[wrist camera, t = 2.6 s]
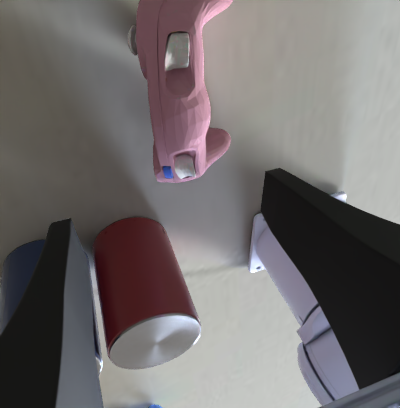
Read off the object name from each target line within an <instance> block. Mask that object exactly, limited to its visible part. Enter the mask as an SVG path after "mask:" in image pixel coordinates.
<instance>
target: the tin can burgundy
mask: <svg viewBox="0 0 400 408" xmlns="http://www.w3.org/2000/svg"><path fill="white" fill-rule="evenodd" d="M92 253H93V260H94V267H95V274H96V280H97V287H98V294H99V300H100V307H101V314H102V321H103V327H104V334H105V341H106V347H107V354H108V357H109V358H110V360H111V361H112V363H114V364H115V365H116V366H118V367H121V368H125V369H143V368H149V367H153V366H157V365H160V364H163V363H165V362H168V361H170V360H172V359H174V358H176V357H178V356H179V355H181V354H183V353H184V352H185V351H187V350H188V349H189V348H190V347H191V346H192V345H193V344H194V343H195V342H196V341H197V339H198V337H199V335H200V332H201V322H200V320H199V317H198V314H197V312H196V309H195V306H194V304H193V301H192V299H191V296H190V293H189V291H188V288H187V286H186V283H185V280H184V278H183V275H182V272H181V270H180V267H179V265H178V262H177V259H176V257H175V254H174V251H173V249H172V246H171V244H170V241H169V238H168V236H167V233H166V231H165V229H164V228H163V226H162V225H161V224H159V223H158V222H156V221H154V220H151V219H148V218H142V217H134V218H127V219H123V220H120V221H117V222H115V223H113V224H111V225H109V226H108V227H106V228H105V229H104V230H102V231H101V232H100V233H99V235H98V236H97V237H96V239H95V241H94V243H93V247H92Z"/></svg>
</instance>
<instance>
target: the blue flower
mask: <svg viewBox="0 0 400 408" xmlns="http://www.w3.org/2000/svg"><path fill="white" fill-rule="evenodd" d="M148 408H162V407H161V406H159V405H150V406H149V407H148Z"/></svg>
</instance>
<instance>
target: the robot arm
mask: <svg viewBox="0 0 400 408" xmlns="http://www.w3.org/2000/svg"><path fill="white" fill-rule="evenodd" d="M346 197H347V194H346V193H345V192H338V193H334V194H331V195H329V194H327V193H325V192H323V191H321V190H319V189H318V188H316V187H314V186H312V185H310V184H308V183H307V182H305V181H303V180H301V179H299V178H298V177H296V176H294V175H292V174H290V173H289V172H287V171H285V170H283V169H281V168H278V169H274V170H269V171H265V179H264V187H263V195H262V203H261V213H259V214H257V215H256V216H255V217H254V220H253V229H252V237H251V246H250V255H249V263H248V270H249V272H256V271H259V270H262V269H266V270H267V272H268V274H269V275H270V277H271V279H272V280H273V282H274V283H275V285H276V287H277V288H278V290H279V292H280V293H281V295H282V297H283V298H284V300H285V301H286V303H287V305H288V306H289V308H290V310H291V311H292V313H293V314H294V316H295V318H296V319H297V321H298V323H299V324H300V326H301V328H299V329H298V330H297V333H298V335H299V336H300V338H301V340H302V341H303V342H302V343H300V344H299V345H298V364H299V367H300V370H301V372H302V375H303V377H304V379H305V381H306V383H307V384H308V386H309V388H310V389H311V391H312V393H313V394H314V396H315V397H316V398H317V400H318V401H319V403H320V404H321V405H322V406H321V407H319V408H400V224H396V223H393V222H391V221H388V220H385V219H382V218H380V217H377V216H375V215H372V214H370V213H367V212H365V211H362V210H360V209H358V208H355V207H353V206H351V205H349V204H347V203H346V202H345V200H346ZM0 408H104V407H103V401H102V395H101V389H100V383H99V376H98V370H97V364H96V357H95V348H94V333H93V313H92V295H91V282H90V276H89V270H88V265H87V259H86V256H85V253H84V251H83V248H82V245H81V243H80V240H79V238H78V235H77V233H76V230H75V227H74V225H73V222H72V220H71V218H69V219H65V220H61V221H57V222H53V223H51V225H50V226H49V230H48V233H47V236H46V240H45V243H44V246H43V248H42V251H41V254H40V257H39V259H38V262H37V264H36V267H35V269H34V271H33V274H32V276H31V278H30V281H29V283H28V285H27V287H26V289H25V291H24V293H23V295H22V297H21V299H20V301H19V303H18V305H17V307H16V309H15V311H14V313H13V315H12V316H11V318H10V320H9V322H8V323H7V325H6V327H5V328H4V330H3V332H2V333H1V335H0Z"/></svg>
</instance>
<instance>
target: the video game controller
mask: <svg viewBox="0 0 400 408" xmlns="http://www.w3.org/2000/svg"><path fill="white" fill-rule="evenodd" d="M232 1H233V0H140V2H139V5H138V9H137V20H136V27H135V26H134V25H133V26H131V28H130V30H129V34H128V45H129V47H130V49H131V52H132V53H133V54H134V55H137V54H138V57H139V62H140V67H141V70H142V72H143V75H144V77H145V78H146V80H147V81H148V96H149V106H150V115H151V123H152V130H153V136H154V146H153V166H154V173H155V177H156V179H157V181H158V182H175V183H179V182H186V181H189V180H193V179H196V178H198V177H200V176H201V175H203V174H204V172H205V171H206V170H207V169H208V167H209V166H210V165H211V164H212V163H214V162H215V161H216V160H217V159H218V158H220V157H221V156H222V155H223V154H224V153H225V152H226V151H227V150H228V148H229V145H230V142H231V137H230V135H229V134H228V133H227V132H226V131H224V130H223V129H218V128H209V123H210V117H211V107H210V101H209V96H208V93H207V90H206V87H205V84H204V55H203V43H202V28H203V25H204V24H205V23H206V22H208V21H209V20H210V19H211V18H212V17H214V16H215V15H217V14H218V13H220V12H222V11H223V10H225V9H226V8H228V7H229V6H230V4H231V3H232Z"/></svg>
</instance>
